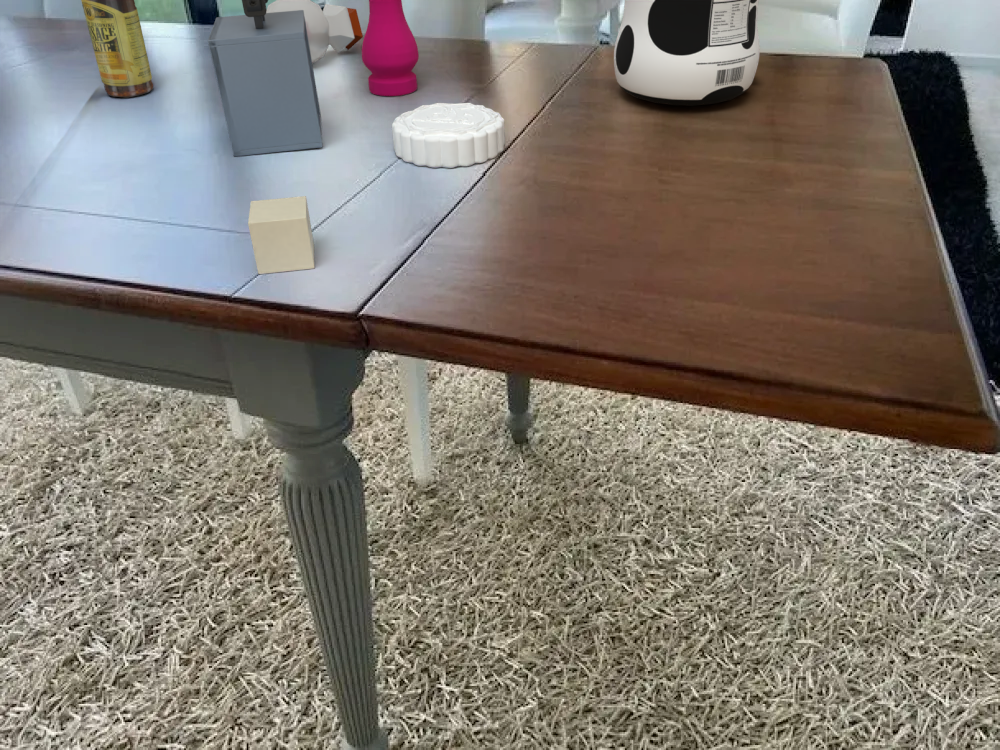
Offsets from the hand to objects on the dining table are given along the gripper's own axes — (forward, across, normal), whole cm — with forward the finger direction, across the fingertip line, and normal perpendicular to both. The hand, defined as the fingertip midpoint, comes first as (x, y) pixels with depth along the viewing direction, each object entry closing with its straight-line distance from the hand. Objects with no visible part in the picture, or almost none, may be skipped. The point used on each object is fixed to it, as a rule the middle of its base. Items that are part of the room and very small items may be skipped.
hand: (257, 8), depth 89 cm
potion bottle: (+14, -33, +4) cm, 36 cm away
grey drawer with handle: (+5, 0, -5) cm, 7 cm away
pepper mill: (+14, -15, +14) cm, 25 cm away
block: (+14, +32, +1) cm, 35 cm away
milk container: (+15, -3, +49) cm, 51 cm away
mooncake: (+14, +9, +18) cm, 25 cm away
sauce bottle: (+13, -23, -20) cm, 33 cm away
